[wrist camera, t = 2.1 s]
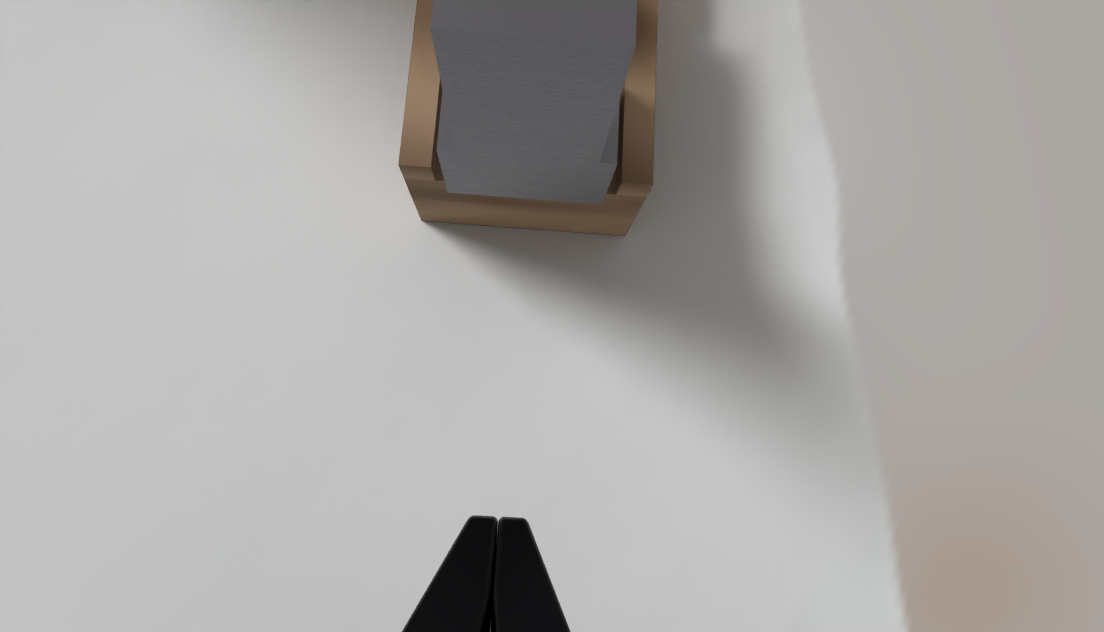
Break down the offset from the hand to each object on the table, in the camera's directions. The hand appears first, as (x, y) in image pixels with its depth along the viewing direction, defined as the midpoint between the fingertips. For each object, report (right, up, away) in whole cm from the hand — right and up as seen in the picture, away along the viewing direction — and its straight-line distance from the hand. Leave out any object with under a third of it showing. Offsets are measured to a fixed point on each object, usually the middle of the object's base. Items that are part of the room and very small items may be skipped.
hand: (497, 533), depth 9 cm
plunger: (0, +9, +11) cm, 14 cm away
